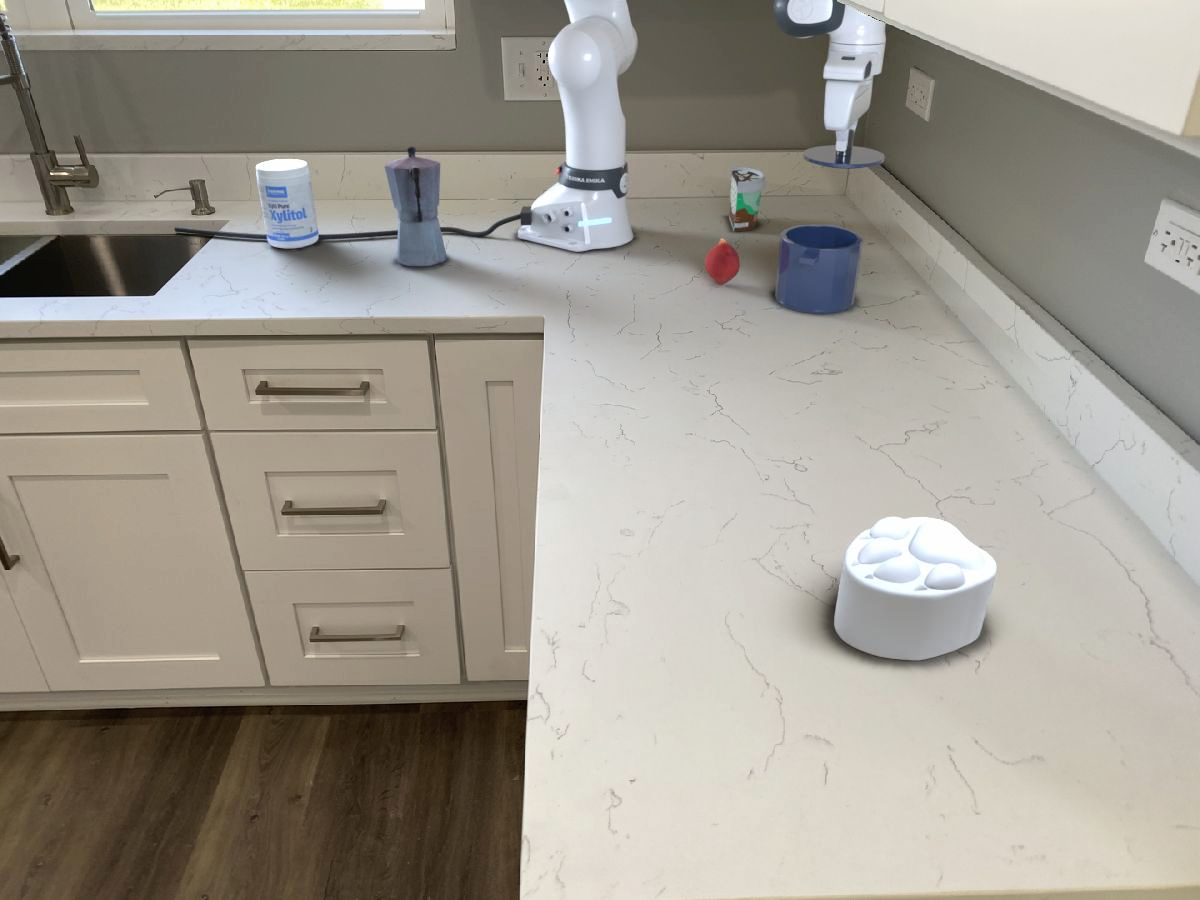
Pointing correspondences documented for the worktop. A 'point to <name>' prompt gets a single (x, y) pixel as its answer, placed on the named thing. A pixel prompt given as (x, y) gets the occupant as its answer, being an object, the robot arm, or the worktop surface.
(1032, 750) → the worktop surface
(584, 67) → the robot arm
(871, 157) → the lid
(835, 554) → the worktop surface
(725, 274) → the onion
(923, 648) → the lumpy-topped squat cylinder
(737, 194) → the food container
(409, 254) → the moka pot
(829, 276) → the pot
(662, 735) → the worktop surface
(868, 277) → the worktop surface
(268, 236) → the supplement tub
